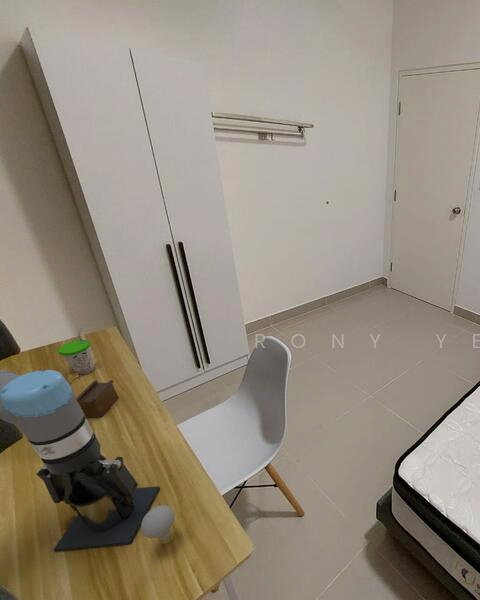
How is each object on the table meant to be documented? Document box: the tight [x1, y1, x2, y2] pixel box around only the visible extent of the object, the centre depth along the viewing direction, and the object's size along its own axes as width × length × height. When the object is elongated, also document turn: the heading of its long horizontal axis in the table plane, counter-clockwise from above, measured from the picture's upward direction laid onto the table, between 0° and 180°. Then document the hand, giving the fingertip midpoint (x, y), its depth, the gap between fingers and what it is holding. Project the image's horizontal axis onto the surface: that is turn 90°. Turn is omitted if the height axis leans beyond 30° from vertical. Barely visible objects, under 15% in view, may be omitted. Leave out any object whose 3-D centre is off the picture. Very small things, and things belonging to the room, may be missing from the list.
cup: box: [57, 327, 95, 376], centre depth 109 cm, size 8×8×15 cm
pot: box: [69, 476, 123, 532], centre depth 70 cm, size 8×10×8 cm
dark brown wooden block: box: [76, 379, 119, 419], centre depth 97 cm, size 5×8×7 cm, turn 8°
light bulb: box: [140, 504, 175, 545], centre depth 67 cm, size 5×6×10 cm
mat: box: [52, 485, 161, 553], centre depth 72 cm, size 14×12×1 cm
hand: (110, 514), depth 72 cm, fingers closed on pot, 7 cm apart
